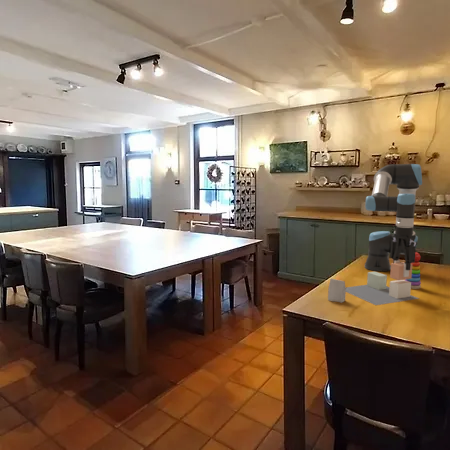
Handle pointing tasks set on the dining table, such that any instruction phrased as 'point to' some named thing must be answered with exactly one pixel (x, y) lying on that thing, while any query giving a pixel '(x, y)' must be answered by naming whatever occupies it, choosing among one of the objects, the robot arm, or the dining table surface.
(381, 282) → the sage brick
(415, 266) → the stacking toy
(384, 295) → the charcoal mat
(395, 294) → the cream brick
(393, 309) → the dining table surface
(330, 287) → the ivan-chai tea box
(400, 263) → the terracotta brick
